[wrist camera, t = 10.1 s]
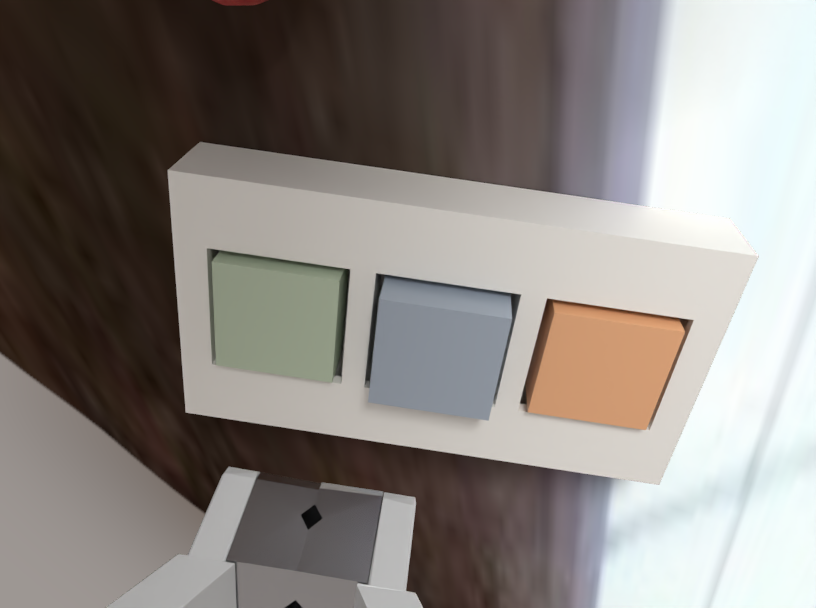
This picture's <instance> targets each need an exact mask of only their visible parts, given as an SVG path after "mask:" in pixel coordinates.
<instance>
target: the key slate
mask: <svg viewBox="0 0 816 608" xmlns="http://www.w3.org/2000/svg"><path fill="white" fill-rule="evenodd" d="M511 322H512V308H511V293H507V292H500V291H494V290H487V289H480V288H473V287H466V286H460V285H453V284H446V283H439V282H433V281H426V280H419V279H412V278H406V277H399V276H392V275H385V278H384V282H383V286H382V290H381V294H380V298H379V305H378V314H377V324H376V333H375V342H374V351H373V361H372V370H371V379H370V388H369V397H368V402H369V403H375V404H382V405H389V406H395V407H402V408H408V409H415V410H421V411H428V412H435V413H441V414H448V415H454V416H461V417H468V418H474V419H481V420H487V421H489V416H490V412H491V408H492V404H493V399H494V395H495V391H496V386H497V382H498V378H499V374H500V369H501V365H502V361H503V356H504V352H505V348H506V344H507V339H508V335H509V331H510V326H511Z"/></svg>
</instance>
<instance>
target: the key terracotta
mask: <svg viewBox="0 0 816 608" xmlns="http://www.w3.org/2000/svg"><path fill="white" fill-rule="evenodd" d="M684 334H685V330H684V328H683V326H682V324H681V322H680V320H679V318H676V317H670V316H663V315H656V314H649V313H643V312H636V311H629V310H622V309H616V308H609V307H602V306H595V305H588V304H582V303H575V302H568V301H561V300H555V299H548V298H547V301H546V304H545V308H544V312H543V316H542V320H541V324H540V327H539V331H538V335H537V339H536V343H535V347H534V350H533V354H532V358H531V362H530V366H529V370H528V373H527V377H526V381H525V387H526V398H527V410H528V412H529V413H536V414H542V415H549V416H555V417H562V418H569V419H575V420H582V421H588V422H595V423H602V424H608V425H615V426H622V427H628V428H635V429H641V430H646V429H647V427H648V424H649V422H650V419H651V417H652V414H653V412H654V409H655V407H656V404H657V402H658V399H659V397H660V394H661V392H662V389H663V387H664V384H665V382H666V379H667V377H668V374H669V372H670V369H671V367H672V364H673V361H674V359H675V356H676V354H677V351H678V349H679V346H680V344H681V341H682V339H683V336H684Z"/></svg>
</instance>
